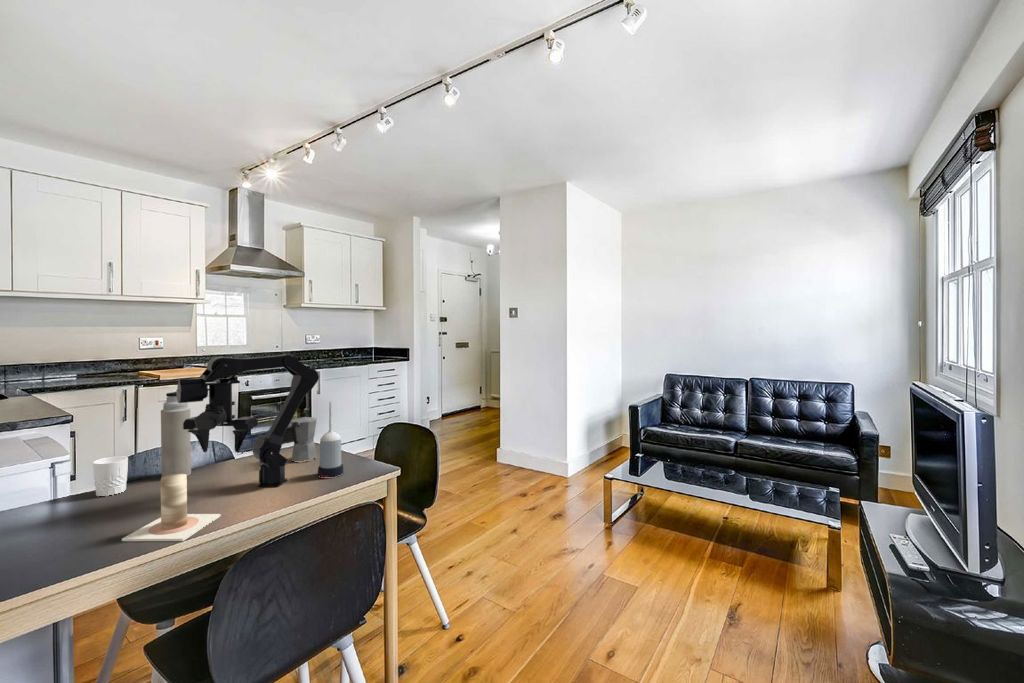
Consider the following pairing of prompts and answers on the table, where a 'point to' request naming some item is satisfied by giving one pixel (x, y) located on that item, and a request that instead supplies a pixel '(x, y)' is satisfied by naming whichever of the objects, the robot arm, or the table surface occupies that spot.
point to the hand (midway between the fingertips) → (221, 451)
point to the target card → (179, 534)
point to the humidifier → (330, 452)
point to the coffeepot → (303, 438)
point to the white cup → (110, 475)
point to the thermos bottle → (175, 437)
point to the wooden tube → (173, 501)
